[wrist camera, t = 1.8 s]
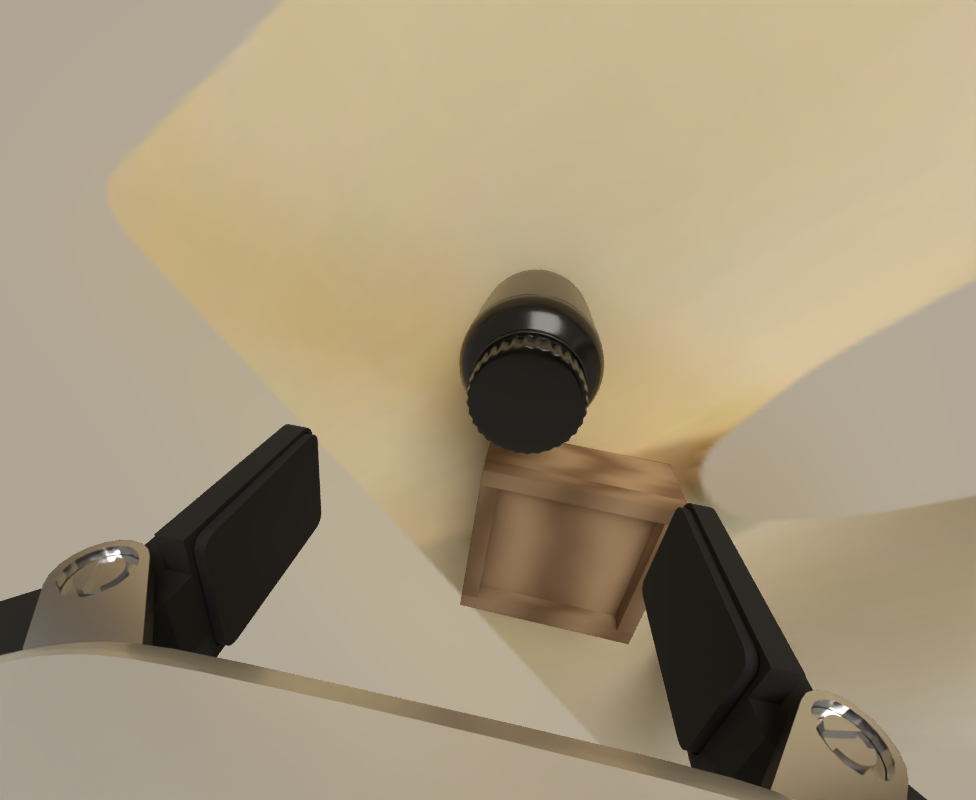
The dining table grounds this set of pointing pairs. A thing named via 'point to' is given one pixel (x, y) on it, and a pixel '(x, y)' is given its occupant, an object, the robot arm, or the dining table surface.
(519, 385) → the supplement bottle
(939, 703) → the dining table surface
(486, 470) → the walnut tray
